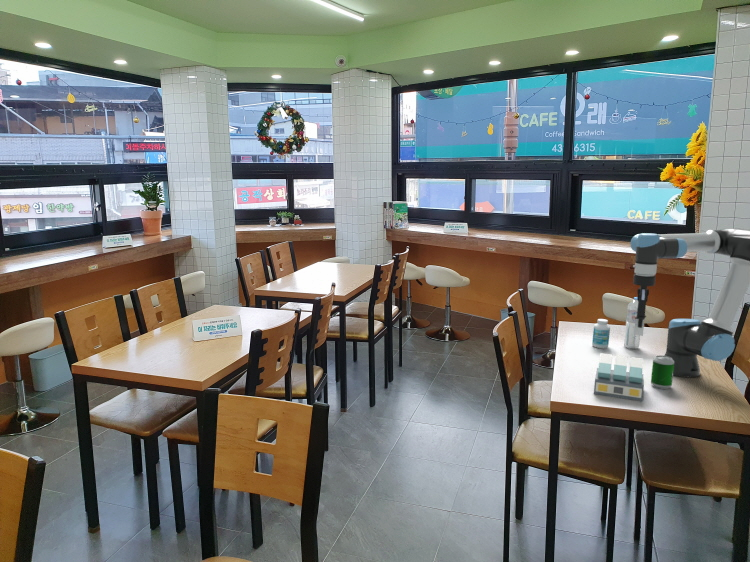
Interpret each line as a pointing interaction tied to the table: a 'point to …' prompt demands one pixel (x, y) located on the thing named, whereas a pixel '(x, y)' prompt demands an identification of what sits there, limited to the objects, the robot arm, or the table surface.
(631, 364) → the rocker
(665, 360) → the soda can
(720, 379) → the table surface
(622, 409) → the table surface
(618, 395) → the switch unit
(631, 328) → the water bottle
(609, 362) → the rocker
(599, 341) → the pill bottle
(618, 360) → the rocker
